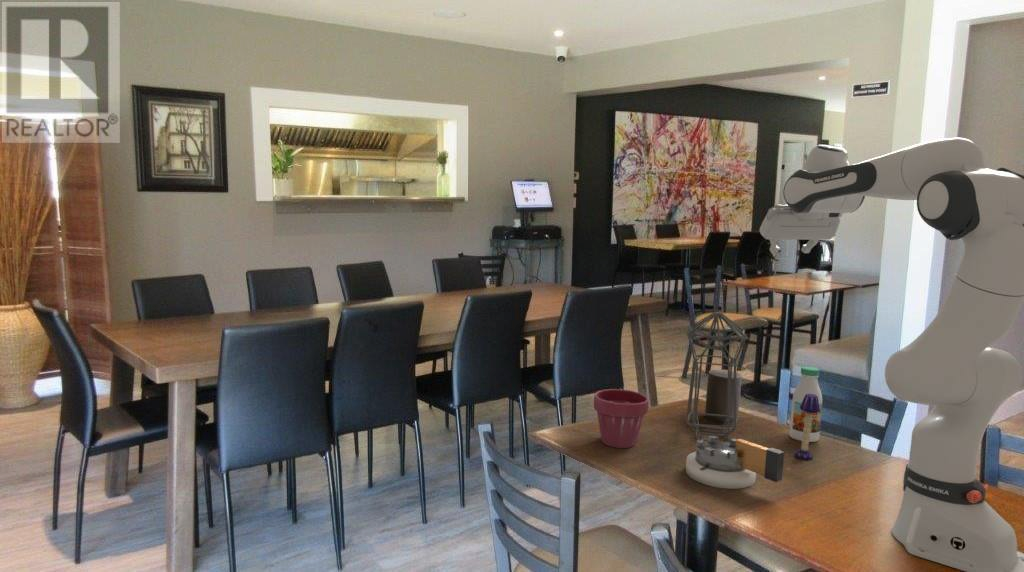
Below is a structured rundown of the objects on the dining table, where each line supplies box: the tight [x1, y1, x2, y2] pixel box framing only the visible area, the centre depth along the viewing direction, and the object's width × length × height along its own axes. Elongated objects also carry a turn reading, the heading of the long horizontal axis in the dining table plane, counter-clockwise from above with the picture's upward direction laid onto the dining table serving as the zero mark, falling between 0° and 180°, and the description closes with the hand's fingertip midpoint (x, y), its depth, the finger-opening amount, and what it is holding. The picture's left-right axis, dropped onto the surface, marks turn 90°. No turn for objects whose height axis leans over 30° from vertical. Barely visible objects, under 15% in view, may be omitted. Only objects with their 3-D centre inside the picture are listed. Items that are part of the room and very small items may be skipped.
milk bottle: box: [789, 366, 823, 443], centre depth 193 cm, size 8×8×20 cm
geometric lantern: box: [685, 311, 749, 442], centre depth 191 cm, size 16×16×35 cm
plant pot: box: [593, 388, 649, 449], centre depth 185 cm, size 14×14×13 cm
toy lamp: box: [794, 394, 820, 461], centre depth 178 cm, size 5×5×17 cm
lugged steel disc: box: [695, 435, 785, 483], centre depth 162 cm, size 21×12×7 cm, turn 39°
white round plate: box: [685, 451, 757, 490], centre depth 166 cm, size 16×16×3 cm
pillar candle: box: [704, 368, 743, 423], centre depth 209 cm, size 10×10×15 cm
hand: (789, 251), depth 183 cm, fingers open, 8 cm apart
